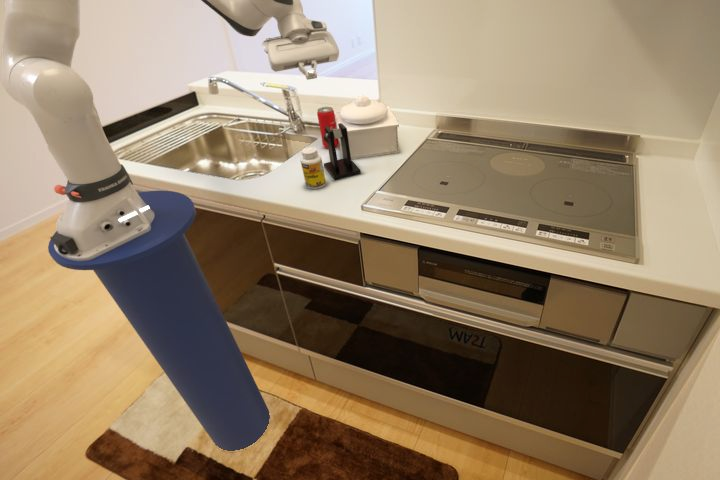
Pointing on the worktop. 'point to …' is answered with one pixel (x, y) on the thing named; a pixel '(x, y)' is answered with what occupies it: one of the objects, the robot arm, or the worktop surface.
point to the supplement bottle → (312, 168)
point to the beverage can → (327, 123)
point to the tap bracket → (341, 166)
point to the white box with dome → (368, 128)
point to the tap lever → (335, 134)
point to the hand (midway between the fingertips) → (312, 77)
